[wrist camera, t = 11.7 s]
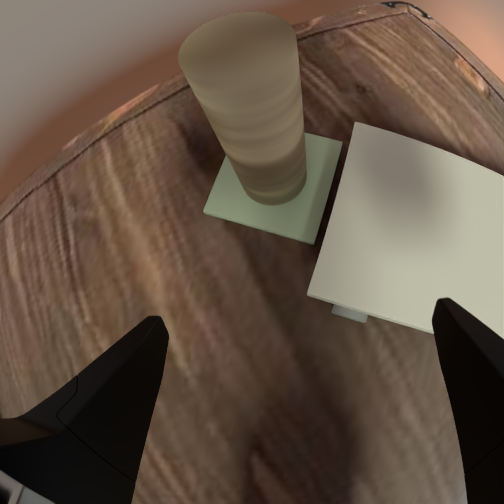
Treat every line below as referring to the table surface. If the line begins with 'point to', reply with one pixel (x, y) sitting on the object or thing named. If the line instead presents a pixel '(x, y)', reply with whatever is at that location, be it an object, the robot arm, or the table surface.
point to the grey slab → (412, 234)
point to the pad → (285, 215)
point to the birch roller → (252, 99)
